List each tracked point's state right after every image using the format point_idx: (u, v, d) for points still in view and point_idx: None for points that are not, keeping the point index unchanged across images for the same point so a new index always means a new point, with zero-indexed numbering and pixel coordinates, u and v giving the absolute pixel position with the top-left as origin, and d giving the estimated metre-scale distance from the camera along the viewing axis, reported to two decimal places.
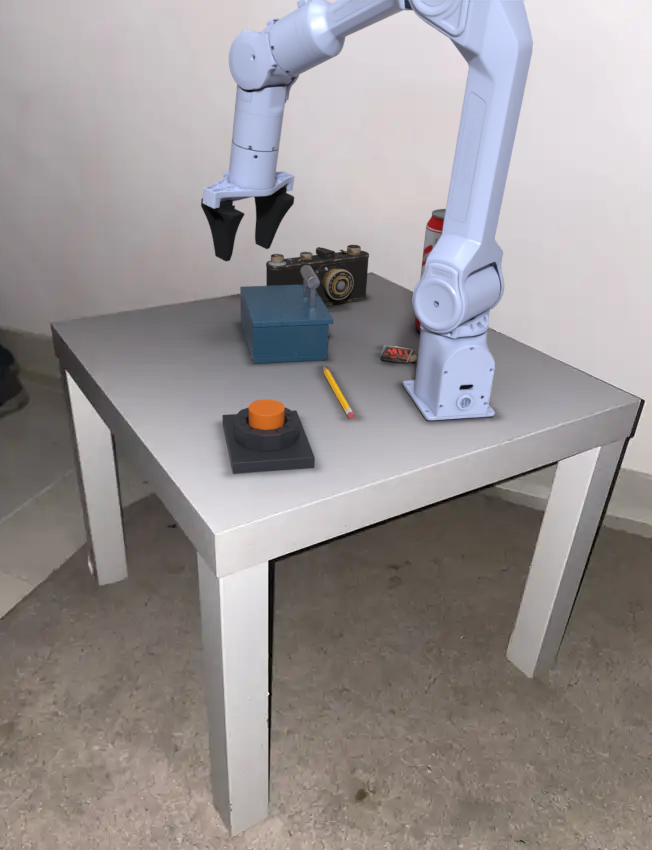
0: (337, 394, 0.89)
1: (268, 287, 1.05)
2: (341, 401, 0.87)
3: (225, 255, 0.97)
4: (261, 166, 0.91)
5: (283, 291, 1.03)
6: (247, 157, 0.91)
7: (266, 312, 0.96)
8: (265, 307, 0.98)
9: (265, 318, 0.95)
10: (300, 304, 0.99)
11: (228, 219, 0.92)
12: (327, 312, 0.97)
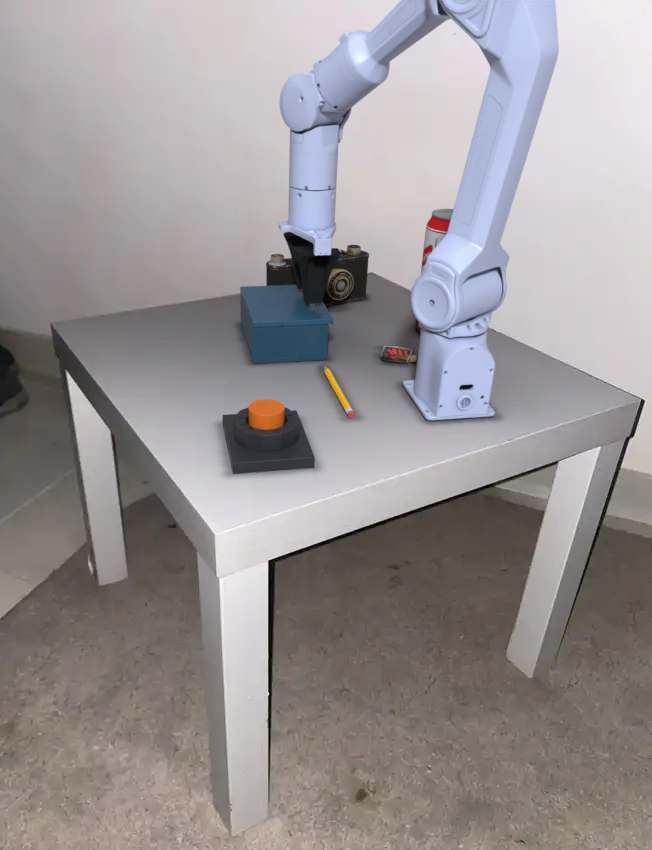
0: (337, 393, 0.89)
1: (268, 287, 1.05)
2: (341, 400, 0.87)
3: (320, 297, 0.97)
4: (334, 202, 0.93)
5: (283, 291, 1.03)
6: (326, 198, 0.91)
7: (266, 312, 0.96)
8: (265, 307, 0.98)
9: (265, 318, 0.95)
10: (300, 304, 0.99)
11: (336, 258, 0.93)
12: (327, 312, 0.97)
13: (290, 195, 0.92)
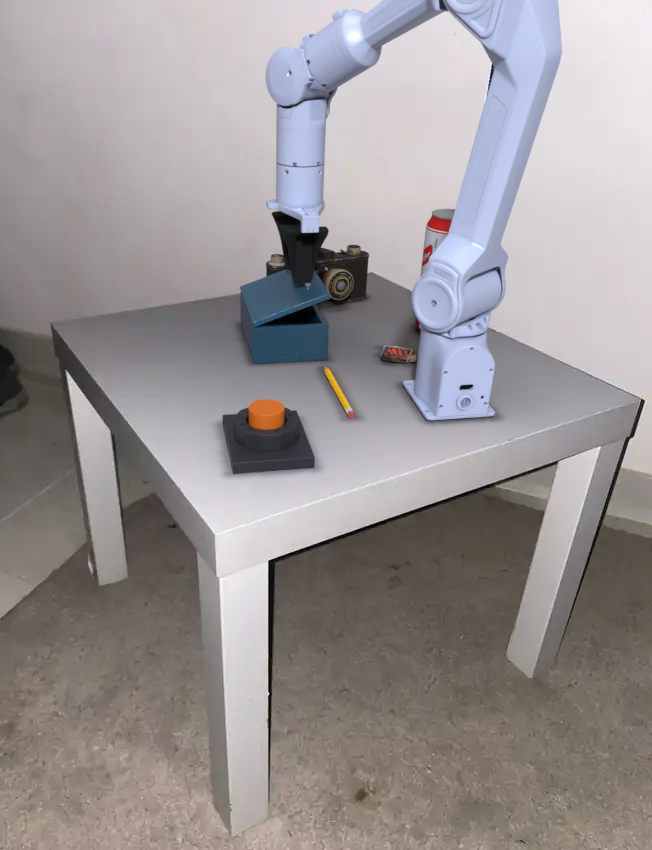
0: (338, 393, 0.89)
1: (266, 278, 1.04)
2: (341, 400, 0.87)
3: (309, 277, 0.95)
4: (322, 179, 0.91)
5: (280, 278, 1.02)
6: (314, 174, 0.90)
7: (264, 307, 0.96)
8: (263, 302, 0.97)
9: (263, 314, 0.94)
10: (296, 287, 0.98)
11: (324, 236, 0.91)
12: (323, 287, 0.95)
13: (277, 172, 0.91)
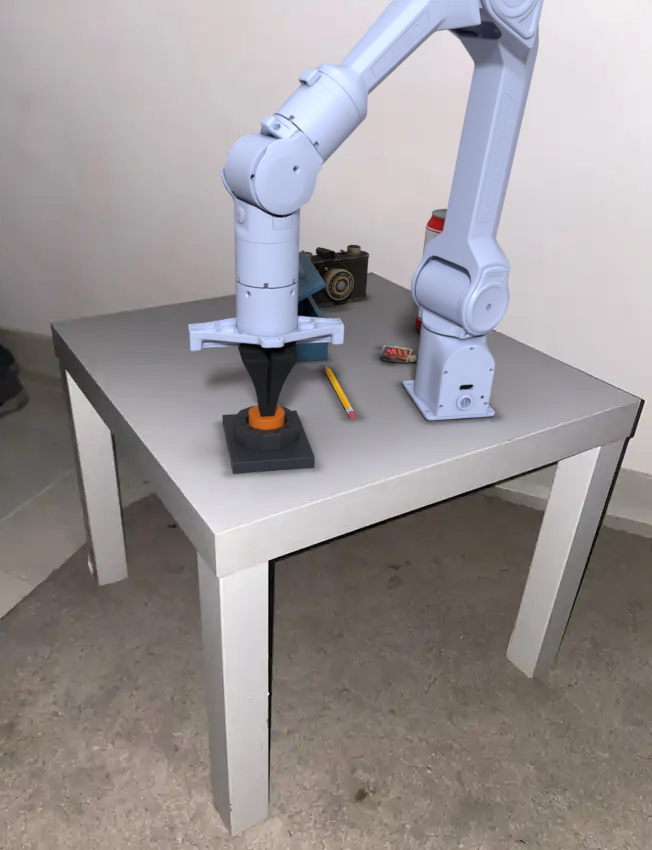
0: (339, 393, 0.89)
1: None
2: (342, 400, 0.87)
3: None
4: None
5: None
6: None
7: None
8: None
9: None
10: None
11: None
12: (317, 276, 0.94)
13: (277, 299, 0.68)
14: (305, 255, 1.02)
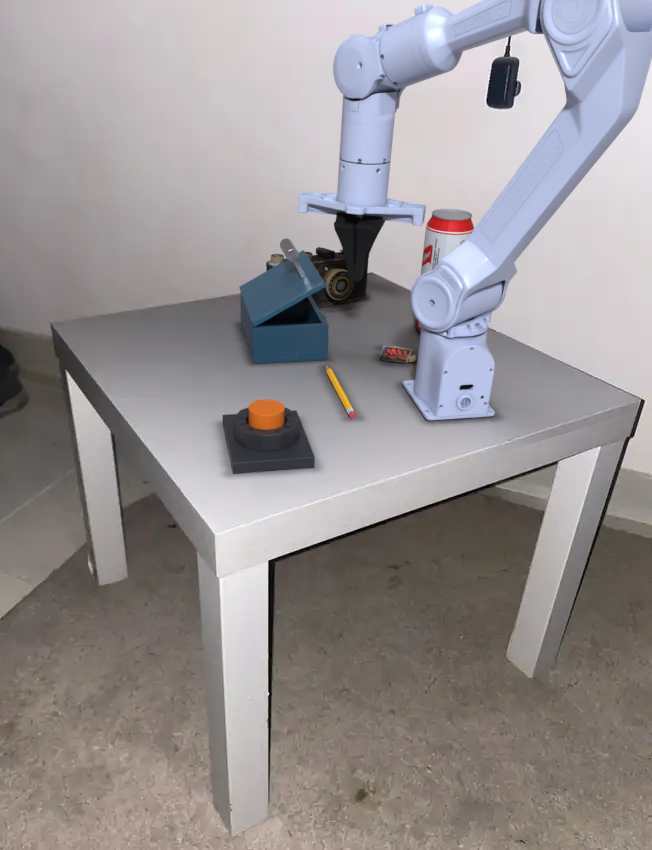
0: (339, 393, 0.89)
1: (263, 274, 1.04)
2: (343, 400, 0.87)
3: (363, 271, 0.93)
4: None
5: (277, 272, 1.02)
6: None
7: (263, 305, 0.96)
8: (262, 299, 0.97)
9: (262, 312, 0.94)
10: (292, 280, 0.97)
11: (383, 224, 0.91)
12: (317, 276, 0.94)
13: (363, 173, 0.84)
14: (305, 255, 1.02)
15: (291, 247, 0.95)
